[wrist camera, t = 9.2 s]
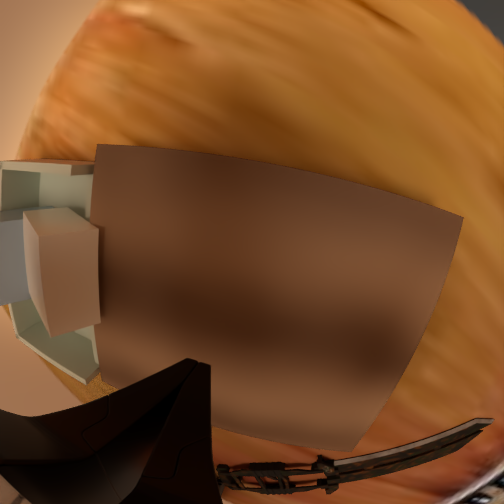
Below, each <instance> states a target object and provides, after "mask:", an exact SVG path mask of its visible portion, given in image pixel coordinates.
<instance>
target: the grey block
mask: <svg viewBox="0 0 504 504" xmlns="http://www.w3.org/2000/svg"><path fill="white" fill-rule="evenodd" d="M52 208H54V207H53V206H44V207H33V208H22V209H12V210H3V211H0V306H1V305H6V304H10V303H15V302H19V301H24V300H28V299H32V298H31V296H30V293H29V288H28V281H27V273H26V264H25V252H24V235H23V211H31V210H41V209H52Z"/></svg>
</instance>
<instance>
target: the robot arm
mask: <svg viewBox="0 0 504 504" xmlns="http://www.w3.org/2000/svg"><path fill="white" fill-rule="evenodd" d="M211 437H212V432H211V365H210V364H206V363H203V362H198V361H197V360H194V359H191V358H185V359H183V360H181V361H179V362H177V363H175V364H173V365H171V366H169V367H167V368H165V369H163V370H161V371H159V372H157V373H155V374H153V375H151V376H148V377H146V378H144V379H142V380H140V381H138V382H135V383H133V384H131V385H129V386H127V387H124V388H122V389H120V390H118V391H115V392H113V393H111V394H109V396H108V395H106V396H104V397H101V398H99V399H96V400H94V401H91V402H89V403H86V404H83V405H80V406H77V407H73V408H69V409H66V410H62V411H58V412H54V413H50V414H45V415H41V416H33V417H27V416H21V415H17V414H13V413H10V412H6V411H4V410H1V409H0V504H223V503H222V499H221V495H222V492H223V489H224V486H225V485H224V484H223V483H222V481H221V480H220V479H218V478H216V474H215V469H214V463H213V454H212V438H211Z"/></svg>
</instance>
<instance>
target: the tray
mask: <svg viewBox="0 0 504 504" xmlns="http://www.w3.org/2000/svg"><path fill="white" fill-rule="evenodd" d="M94 164H95V162H90V161H76V160H59V159H25V160H10V161H0V211H3V210H12V209H22V208H33V207H44V206H53V207H54V208H64V207H68V208H70V209H71V210H72V211H74V212H75V213H77V214H78V215H79V216H81V217H82V218H84V219H85V220H87V221H88V222H89V223H90V208H91V194H92V182H93V172H94ZM8 305H9V310H10V314H11V319H12V323H13V327H14V330H15V334H16V337H17V338H18V339H19V340H20V341H22V342H23V343H24V344H25V345H27V346H28V347H29V348H31V349H32V350H33V351H35V352H36V353H37V354H39V355H40V356H42V357H43V358H44V359H46V360H47V361H49V362H50V363H52V364H53V365H55V366H56V367H58V368H59V369H61V370H62V371H64V372H65V373H67V374H69V375H70V376H72V377H73V378H75V379H77V380H78V381H80V382H82V383H84V384H85V385H87V384H88V383H89V382H90V381H91V380H92V379H93V378H94V377H95V376H97V375H98V374H99V373H100V367H99V361H98V355H97V348H96V341H95V333H94V325H92V326H89V327H85V328H82V329H79V330H75V331H72V332H69V333H65V334H62V335H58V336H55V337H50V335H49V333H48V331H47V329H46V327H45V325H44V323H43V321H42V319H41V317H40V315H39V313H38V311H37V309H36V307H35V305H34V303H33V300H32V299H28V300H24V301H19V302H15V303H10V304H8Z"/></svg>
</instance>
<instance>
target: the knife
mask: <svg viewBox="0 0 504 504" xmlns="http://www.w3.org/2000/svg"><path fill="white" fill-rule="evenodd" d="M494 420H495V419H474V420H472V421H470V422H468V423H466V424H463V425H461V426H459V427H456V428H454V429H451V430H449V431H446V432H444V433H441V434H439V435H436V436H433V437H430V438H427V439H424V440H421V441H418V442H415V443H412V444H409V445H405V446H402V447H398V448H395V449H391V450H387V451H383V452H379V453H375V454H370V455H366V456H361V457H356V458H350V459H345V460H339V461H334V459H333V460H326V461H323V458H322V455H317V456H318V460H317V462H315V463H313V464H312V466H311V470H303V469H290V470H285V463H282V462H271V463H268V462H266V463H250V465H249V469H241V470H238V471H232V472H229V470H230V468H229V467H228V465H225V464H219V465H218V466H217V469H216V470H217V472H218V475H219V478H220V480H221V481H222V483H223V484H224V485H225V486H228V487H229V488H230V489H232V490H247V491H253V492H259V493H260V494H267V495H270V494H272V495H275V494H287V493H289V494H292V493H294V492H304V491H309V490H313V489H317V488H321V489H325V491H326V494H331V493H333V492H334V491H336V490H337V489H338V488H339V483H345V482H351V481H357V480H362V479H367V478H372V477H377V476H381V475H385V474H389V473H393V472H397V471H400V470H404V469H407V468H411V467H414V466H417V465H420V464H423V463H426V462H429V461H432V460H435V459H438V458H440V457H443V456H446V455H448V454H451V453H453V452H455V451H457V450H459V449H460V448H462V447H463V446H464V445H466V444H467V443H468V442H470V441H471V440H472V439H473V438H475V437H476V436H477V435H479V434H480V433H481V432H482V431H483V430H480V429H482V428H484V427H486V426H488V425H490V424H492V422H493V421H494ZM473 432H474V433H473ZM471 433H472V434H471ZM462 437H463V438H462ZM455 440H456V441H455ZM450 442H451V443H450ZM445 444H446V445H445ZM429 450H430V451H429ZM426 451H427V452H426ZM423 452H424V453H423ZM420 453H421V454H420ZM417 454H418V455H417ZM407 457H408V458H407ZM400 459H401V460H400ZM393 461H394V462H393ZM389 462H390V463H389ZM385 463H386V464H385ZM381 464H382V465H381ZM357 469H358V470H357ZM352 470H353V471H352ZM346 471H347V472H346ZM323 472H324V474H325V476H327V479H317V485H314V486H302V487H296V485H289V482H288V479H289V478H288V476H292V475H305V474H315V473H323ZM340 472H341V473H340ZM237 476H238V477H237ZM242 476H254V477H255V478H256V480H257V481H258V483H259V484H260V485H261V488H248V487H245V486H244V485H243V484H242V482H241V480H242ZM260 476H261V477H264V476H267V477H268V478H270V479H273V480H278V482H279V485H278V486H276V485H275V486H266V485H265V484H264V482H263V481H262V479H261V478H260ZM277 478H278V479H277ZM234 479H235V480H234ZM282 479H283V480H284V482H285V485H283V482H282Z"/></svg>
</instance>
